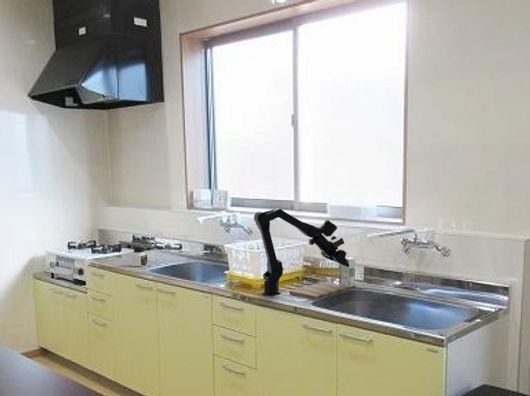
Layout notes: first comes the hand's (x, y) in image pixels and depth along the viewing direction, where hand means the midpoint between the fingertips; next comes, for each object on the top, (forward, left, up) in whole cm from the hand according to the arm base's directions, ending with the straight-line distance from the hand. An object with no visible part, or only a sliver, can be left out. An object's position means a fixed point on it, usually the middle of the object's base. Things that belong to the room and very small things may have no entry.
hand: (344, 264), depth 262 cm
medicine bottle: (-38, +129, -11) cm, 135 cm away
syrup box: (+1, -1, -11) cm, 11 cm away
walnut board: (-17, +2, -11) cm, 20 cm away
